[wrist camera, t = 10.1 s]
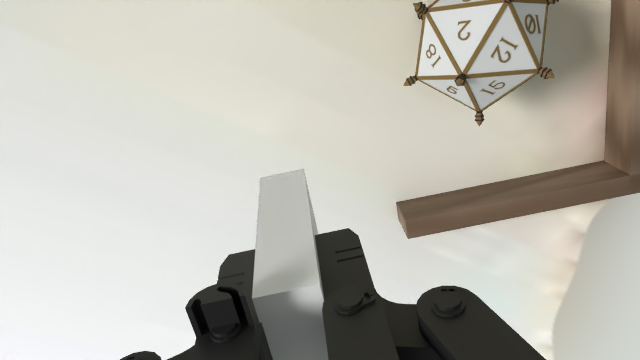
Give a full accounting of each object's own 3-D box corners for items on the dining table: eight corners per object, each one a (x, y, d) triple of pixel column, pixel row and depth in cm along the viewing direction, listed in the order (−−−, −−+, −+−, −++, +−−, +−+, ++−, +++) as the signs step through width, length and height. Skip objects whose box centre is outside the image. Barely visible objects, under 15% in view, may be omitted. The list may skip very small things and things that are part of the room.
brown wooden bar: (356, -85, 29) (364, -92, 27) (642, -144, 29) (680, -156, 26) (398, 219, 37) (407, 238, 35) (622, 174, 37) (649, 190, 35)
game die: (476, 62, 36) (366, 1, 32) (581, -21, 30) (461, -111, 26) (492, 164, 32) (366, 109, 27) (620, 92, 25) (482, 6, 21)
